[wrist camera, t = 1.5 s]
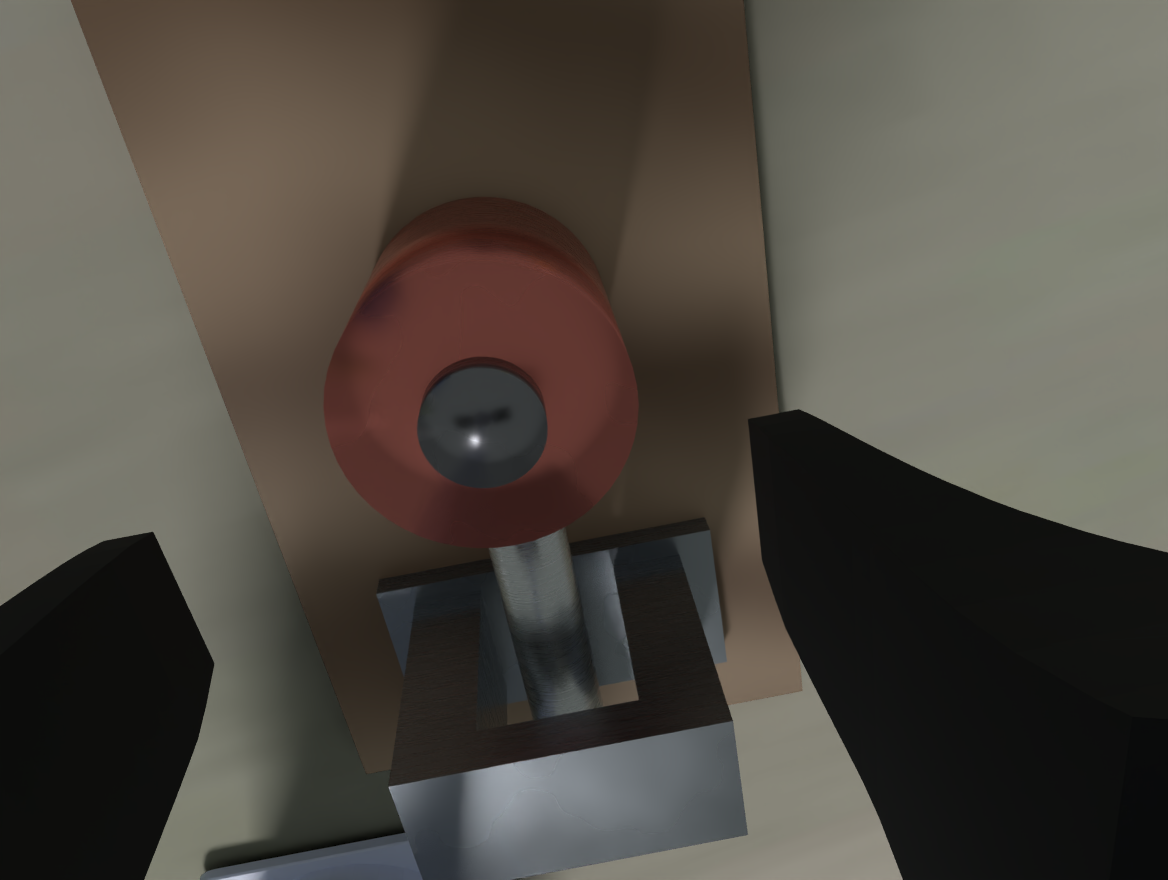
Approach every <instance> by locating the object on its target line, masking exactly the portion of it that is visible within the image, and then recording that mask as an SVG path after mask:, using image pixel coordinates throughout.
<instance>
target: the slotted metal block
mask: <svg viewBox="0 0 1168 880" xmlns="http://www.w3.org/2000/svg"><path fill="white" fill-rule="evenodd" d="M569 546H570V551H571V556H572V560H573V565H574V570H575V575H576V579H577V584H578V589H579V593H580V598H581V603H582V607H583V612H584V617H585V621H586V626H587V631H588V636H589V640H590V645H591V650H592V654H593V659H594V664H595V668H596V673H597V678H598V682H599V686H603V685H609V684H614V683H619V682H624V681H630V680H635V684H636V689H637V694H638V699H639V700H636V701H630V702H625V703H620V704H615V705H609V706H604V707H599V708H594V709H588V710H583V711H578V712H573V713H568V714H562V715H557V716H552V717H547V718H541V719H536V720H531V721H526V722H520V723H515V724H510V725H507V704H509V703H514V702H520V701H525V700H528V699H527V695H526V691H525V687H524V684H523V680H522V676H521V672H520V668H519V664H518V661H517V657H516V653H515V649H514V645H513V641H512V637H511V634H510V630H509V626H508V622H507V618H506V614H505V611H504V607H503V603H502V599H501V595H500V591H499V588H498V584H497V580H496V576H495V572H494V568H493V565H492V561H491V558H489V559H483V560H478V561H473V562H468V563H463V564H457V565H452V566H447V567H442V568H436V569H431V570H426V571H421V572H416V573H410V574H405V575H400V576H395V577H389V578H384V579H379V583H378V588H377V592H376V595H377V598H378V601H379V604H380V607H381V610H382V613H383V616H384V619H385V622H386V625H387V628H388V631H389V634H390V637H391V640H392V643H393V646H394V649H395V652H396V655H397V658H398V661H399V664H400V667H401V670H402V673H403V676H404V683H403V690H402V696H401V703H400V710H399V717H398V724H397V731H396V738H395V745H394V751H393V758H392V765H391V772H390V779H389V786H388V787H389V790H390V793H391V795H392V798H393V801H394V803H395V806H396V809H397V812H398V814H399V817H400V820H401V822H402V825H403V828H404V830H405V833H406V836H407V839H408V841H409V844H410V847H411V849H412V852H413V855H414V858H415V860H416V863H417V866H418V868H419V871H420V874H421V876H422V879H423V880H514V879H519V878H524V877H530V876H535V875H540V874H545V873H550V872H556V871H561V870H566V869H571V868H577V867H582V866H587V865H592V864H598V863H603V862H608V861H613V860H619V859H624V858H629V857H634V856H640V855H645V854H650V853H655V852H661V851H666V850H671V849H676V848H682V847H687V846H692V845H697V844H702V843H708V842H713V841H718V840H723V839H729V838H734V837H739V836H744V835H748V832H747V825H746V817H745V810H744V802H743V794H742V787H741V779H740V772H739V764H738V756H737V749H736V741H735V734H734V726H733V720H732V717H731V714H730V711H729V708H728V704H727V701H726V698H725V695H724V692H723V689H722V686H721V683H720V680H719V676H718V673H717V670H716V667H715V664H718V663H724V662H727V657H726V649H725V642H724V634H723V626H722V619H721V611H720V603H719V596H718V588H717V580H716V573H715V565H714V557H713V550H712V542H711V534H710V529H709V526H708V524H707V521H706V519H705V517H703V518H697V519H692V520H687V521H682V522H677V523H671V524H666V525H661V526H656V527H650V528H645V529H640V530H635V531H630V532H624V533H619V534H614V535H609V536H603V537H598V538H593V539H588V540H583V541H577V542H572V543H569Z"/></svg>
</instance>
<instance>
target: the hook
mask: <svg viewBox="0 0 1168 880" xmlns="http://www.w3.org/2000/svg"><path fill="white" fill-rule="evenodd" d="M638 407H639V403H638V391H637V384H636V379H635V375H634V371H633V367H632V364H631V361H630V358H629V356H628V353H627V350H626V347H625V344H624V342H623V339H622V336H621V333H620V330H619V328H618V325H617V322H616V319H615V317H614V314H613V311H612V308H611V305H610V303H609V300H608V297H607V294H606V291H605V289H604V286H603V283H602V280H601V278H600V275H599V273H598V270H597V267H596V265H595V264H594V262H593V260H592V258H591V256H590V254H589V253H588V251H587V250H586V249H585V247H584V246H583V245H582V243H581V242H580V241H579V239H578V238H577V237H576V236H575V235H574V234H573V233H572V232H571V231H570V230H569V229H568V228H567V227H565V226H564V225H563V224H561V223H560V222H559V221H558V220H556V219H555V218H553V217H552V216H550V215H548V214H547V213H545V212H543V211H542V210H539V209H537V208H535V207H532V206H530V205H528V204H525V203H521V202H518V201H514V200H511V199H504V198H497V197H472V198H464V199H458V200H454V201H451V202H447V203H444V204H441V205H439V206H436V207H434V208H431V209H429V210H427V211H426V212H424V213H422V214H421V215H419V216H417V217H415V218H414V219H413V220H412V221H410V222H409V223H408V224H407V225H405V226H404V227H403V228H402V229H401V230H400V231H399V232H398V233H397V234H396V235H395V236H394V237H393V238H392V239H391V241H390V242H389V244H388V245H387V246H386V248H385V249H384V251H383V252H382V254H381V256H380V258H379V260H378V261H377V263H376V265H375V267H374V269H373V271H372V274H371V276H370V278H369V280H368V282H367V284H366V286H365V288H364V290H363V292H362V294H361V296H360V298H359V300H358V302H357V305H356V307H355V309H354V311H353V313H352V315H351V317H350V319H349V321H348V323H347V325H346V327H345V329H344V331H343V333H342V336H341V338H340V340H339V342H338V344H337V346H336V348H335V350H334V353H333V356H332V358H331V361H330V364H329V367H328V371H327V376H326V381H325V386H324V405H323V408H324V417H325V427H326V430H327V434H328V438H329V442H330V446H331V448H332V450H333V453H334V455H335V458H336V460H337V462H338V464H339V466H340V468H341V469H342V471H343V473H344V475H345V476H346V478H347V479H348V481H349V482H350V483H351V485H352V486H353V487H354V489H355V490H356V491H357V492H358V494H359V495H360V496H361V497H362V498H363V499H364V500H365V501H366V502H367V503H368V504H369V505H370V506H371V507H372V508H374V509H375V510H376V511H378V512H379V513H380V514H381V515H383V516H384V517H385V518H386V519H388V520H390V521H391V522H393V523H395V524H396V525H398V526H400V527H401V528H403V529H405V530H407V531H409V532H412V533H414V534H416V535H418V536H420V537H423V538H426V539H429V540H432V541H436V542H439V543H443V544H448V545H453V546H458V547H469V548H488V549H489V553H490V557H491V561H492V565H493V568H494V572H495V576H496V580H497V584H498V588H499V591H500V595H501V599H502V603H503V607H504V611H505V614H506V618H507V622H508V626H509V630H510V634H511V637H512V641H513V645H514V649H515V653H516V657H517V661H518V664H519V668H520V672H521V676H522V680H523V684H524V687H525V691H526V695H527V699H528V703H529V707H530V710H531V714H532V718H533V720H536V719H541V718H547V717H552V716H557V715H562V714H568V713H573V712H578V711H583V710H588V709H594V708H599V707H604V706H603V701H602V697H601V692H600V687H599V682H598V678H597V673H596V668H595V664H594V659H593V654H592V650H591V645H590V640H589V636H588V631H587V626H586V621H585V617H584V612H583V607H582V603H581V598H580V593H579V589H578V584H577V579H576V575H575V570H574V565H573V560H572V556H571V551H570V546H569V542H568V537H567V532H566V528H565V527H566V526H568V525H569V524H571V523H572V522H574V521H575V520H577V519H578V518H580V517H581V516H583V515H584V514H585V513H586V512H588V511H589V510H590V509H591V508H592V507H593V506H594V505H596V504H597V503H598V502H599V501H600V499H601V498H602V497H603V496H604V495H605V494H606V493H607V492H608V491H609V489H610V488H611V486H612V485H613V484H614V482H615V481H616V479H617V478H618V476H619V475H620V473H621V471H622V469H623V467H624V465H625V463H626V461H627V459H628V457H629V454H630V451H631V448H632V445H633V443H634V439H635V434H636V429H637V424H638Z"/></svg>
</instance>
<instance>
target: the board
mask: <svg viewBox="0 0 1168 880" xmlns="http://www.w3.org/2000/svg"><path fill="white" fill-rule="evenodd" d="M71 2H72V4H73V7H74V10H75V12H76V15H77V18H78V20H79V23H80V25H81V28H82V31H83V33H84V36H85V39H86V41H87V44H88V46H89V49H90V52H91V54H92V57H93V59H94V62H95V65H96V67H97V70H98V73H99V75H100V78H101V80H102V83H103V86H104V88H105V91H106V94H107V96H108V99H109V101H110V104H111V107H112V109H113V112H114V115H115V117H116V120H117V122H118V125H119V128H120V130H121V133H122V135H123V138H124V141H125V143H126V146H127V149H128V151H129V154H130V156H131V159H132V162H133V164H134V167H135V170H136V172H137V175H138V177H139V180H140V183H141V185H142V188H143V190H144V193H145V196H146V198H147V201H148V204H149V206H150V209H151V211H152V214H153V217H154V219H155V222H156V225H157V227H158V230H159V232H160V235H161V238H162V240H163V243H164V246H165V248H166V251H167V253H168V256H169V259H170V261H171V264H172V266H173V269H174V272H175V274H176V277H177V280H178V282H179V285H180V287H181V290H182V293H183V295H184V298H185V301H186V303H187V306H188V308H189V311H190V314H191V316H192V319H193V321H194V324H195V327H196V329H197V332H198V335H199V337H200V340H201V342H202V345H203V348H204V350H205V353H206V356H207V358H208V361H209V363H210V366H211V369H212V371H213V374H214V377H215V379H216V382H217V384H218V387H219V390H220V392H221V395H222V397H223V400H224V403H225V405H226V408H227V411H228V413H229V416H230V418H231V421H232V424H233V426H234V429H235V432H236V434H237V437H238V439H239V442H240V445H241V447H242V450H243V452H244V455H245V458H246V460H247V463H248V466H249V468H250V471H251V473H252V476H253V479H254V481H255V484H256V487H257V489H258V492H259V494H260V497H261V500H262V502H263V505H264V507H265V510H266V513H267V515H268V518H269V521H270V523H271V526H272V528H273V531H274V534H275V536H276V539H277V542H278V544H279V547H280V549H281V552H282V555H283V557H284V560H285V563H286V565H287V568H288V570H289V573H290V576H291V578H292V581H293V583H294V586H295V589H296V591H297V594H298V597H299V599H300V602H301V604H302V607H303V610H304V612H305V615H306V618H307V620H308V623H309V625H310V628H311V631H312V633H313V636H314V638H315V641H316V644H317V646H318V649H319V652H320V654H321V657H322V659H323V662H324V665H325V667H326V670H327V673H328V675H329V678H330V680H331V683H332V686H333V688H334V691H335V694H336V696H337V699H338V701H339V704H340V707H341V709H342V712H343V714H344V717H345V720H346V722H347V725H348V728H349V730H350V733H351V735H352V738H353V741H354V743H355V746H356V749H357V751H358V754H359V756H360V759H361V762H362V764H363V767H364V769H365V772H366V774H370V773H375V772H381V771H386V770H391V765H392V758H393V751H394V745H395V738H396V731H397V724H398V717H399V710H400V703H401V696H402V690H403V683H404V676H403V673H402V670H401V667H400V664H399V661H398V658H397V655H396V652H395V649H394V646H393V643H392V640H391V637H390V634H389V631H388V628H387V625H386V622H385V619H384V616H383V613H382V610H381V607H380V604H379V601H378V598H377V595H376V592H377V588H378V583H379V579H384V578H389V577H395V576H400V575H405V574H410V573H416V572H421V571H426V570H431V569H436V568H442V567H447V566H452V565H457V564H463V563H468V562H473V561H478V560H483V559H489V558H491V557H490V553H489V549H488V548H469V547H458V546H453V545H448V544H443V543H439V542H436V541H432V540H429V539H426V538H423V537H420V536H418V535H416V534H414V533H412V532H409V531H407V530H405V529H403V528H401V527H400V526H398V525H396V524H395V523H393V522H391V521H390V520H388V519H386V518H385V517H384V516H383V515H381V514H380V513H379V512H378V511H376V510H375V509H374V508H372V507H371V506H370V505H369V504H368V503H367V502H366V501H365V500H364V499H363V498H362V497H361V496H360V495H359V494H358V492H357V491H356V490H355V489H354V487H353V486H352V485H351V483H350V482H349V481H348V479H347V478H346V476H345V475H344V473H343V471H342V469H341V468H340V466H339V464H338V462H337V460H336V458H335V455H334V453H333V450H332V448H331V446H330V442H329V438H328V434H327V430H326V427H325V417H324V408H323V405H324V386H325V381H326V376H327V371H328V367H329V364H330V361H331V358H332V356H333V353H334V350H335V348H336V346H337V344H338V342H339V340H340V338H341V336H342V333H343V331H344V329H345V327H346V325H347V323H348V321H349V319H350V317H351V315H352V313H353V311H354V309H355V307H356V305H357V302H358V300H359V298H360V296H361V294H362V292H363V290H364V288H365V286H366V284H367V282H368V280H369V278H370V276H371V274H372V271H373V269H374V267H375V265H376V263H377V261H378V260H379V258H380V256H381V254H382V252H383V251H384V249H385V248H386V246H387V245H388V244H389V242H390V241H391V239H392V238H393V237H394V236H395V235H396V234H397V233H398V232H399V231H400V230H401V229H402V228H403V227H404V226H405V225H407V224H408V223H409V222H410V221H412V220H413V219H414V218H415V217H417V216H419V215H421V214H422V213H424V212H426V211H427V210H429V209H431V208H434V207H436V206H439V205H441V204H444V203H447V202H451V201H454V200H458V199H464V198H472V197H497V198H504V199H511V200H514V201H518V202H521V203H525V204H528V205H530V206H532V207H535V208H537V209H539V210H542V211H543V212H545V213H547V214H548V215H550V216H552V217H553V218H555V219H556V220H558V221H559V222H560V223H561V224H563V225H564V226H565V227H567V228H568V229H569V230H570V231H571V232H572V233H573V234H574V235H575V236H576V237H577V238H578V239H579V241H580V242H581V243H582V245H583V246H584V247H585V249H586V250H587V251H588V253H589V254H590V256H591V258H592V260H593V262H594V264H595V265H596V267H597V270H598V273H599V275H600V278H601V280H602V283H603V286H604V289H605V291H606V294H607V297H608V300H609V303H610V305H611V308H612V311H613V314H614V317H615V319H616V322H617V325H618V328H619V330H620V333H621V336H622V339H623V342H624V344H625V347H626V350H627V353H628V356H629V358H630V361H631V364H632V367H633V371H634V375H635V379H636V384H637V391H638V403H639V407H638V424H637V429H636V434H635V439H634V443H633V445H632V448H631V451H630V454H629V457H628V459H627V461H626V463H625V465H624V467H623V469H622V471H621V473H620V475H619V476H618V478H617V479H616V481H615V482H614V484H613V485H612V486H611V488H610V489H609V491H608V492H607V493H606V494H605V495H604V496H603V497H602V498H601V499H600V501H599V502H598V503H597V504H596V505H594V506H593V507H592V508H591V509H590V510H589V511H588V512H586V513H585V514H584V515H583V516H581V517H580V518H578V519H577V520H575V521H574V522H572V523H571V524H569V525H568V526H566V527H565V528H566V532H567V537H568V542H569V543H572V542H577V541H583V540H588V539H593V538H598V537H603V536H609V535H614V534H619V533H624V532H630V531H635V530H640V529H645V528H650V527H656V526H661V525H666V524H671V523H677V522H682V521H687V520H692V519H697V518H703V517H705V519H706V521H707V524H708V526H709V529H710V534H711V542H712V550H713V557H714V565H715V573H716V580H717V588H718V596H719V603H720V611H721V619H722V626H723V634H724V642H725V649H726V657H727V662H724V663H718V664H715V667H716V670H717V673H718V676H719V680H720V683H721V686H722V689H723V692H724V695H725V698H726V701H727V704H728V705H731V704H736V703H742V702H747V701H752V700H757V699H763V698H768V697H773V696H778V695H784V694H789V693H794V692H799V691H802V680H801V668H800V657H799V655H798V653H797V651H796V649H795V647H794V645H793V643H792V641H791V639H790V637H789V635H788V633H787V630H786V628H785V626H784V623H783V620H782V617H781V615H780V612H779V609H778V606H777V603H776V601H775V598H774V595H773V592H772V589H771V586H770V583H769V580H768V577H767V574H766V571H765V568H764V565H763V562H762V557H761V547H760V537H759V527H758V517H757V507H756V497H755V487H754V477H753V467H752V457H751V446H750V436H749V426H748V419H751V418H756V417H761V416H766V415H772V414H777V413H779V410H778V398H777V386H776V375H775V363H774V351H773V339H772V328H771V316H770V304H769V292H768V281H767V269H766V257H765V245H764V234H763V222H762V210H761V198H760V187H759V175H758V163H757V151H756V140H755V128H754V116H753V104H752V93H751V81H750V69H749V57H748V46H747V34H746V22H745V10H744V0H71ZM599 687H600V692H601V697H602V701H603V706H609V705H615V704H620V703H625V702H630V701H636V700H639V699H638V694H637V689H636V684H635V680H630V681H624V682H619V683H614V684H609V685H603V686H599ZM531 720H533V718H532V714H531V710H530V707H529V703H528V700H525V701H520V702H514V703H509V704H507V725H510V724H515V723H520V722H526V721H531Z"/></svg>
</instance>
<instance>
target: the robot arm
mask: <svg viewBox="0 0 1168 880" xmlns="http://www.w3.org/2000/svg"><path fill="white" fill-rule="evenodd" d="M748 426H749V436H750V446H751V457H752V467H753V477H754V487H755V497H756V507H757V517H758V527H759V537H760V547H761V557H762V562H763V565H764V568H765V571H766V574H767V577H768V580H769V583H770V586H771V589H772V592H773V595H774V598H775V601H776V603H777V606H778V609H779V612H780V615H781V617H782V620H783V623H784V626H785V628H786V630H787V633H788V635H789V637H790V639H791V641H792V643H793V645H794V647H795V649H796V651H797V653H798V655H799V657H800V659H801V661H802V663H803V665H804V667H805V669H806V671H807V673H808V675H809V677H810V679H811V681H812V683H813V685H814V687H815V688H816V690H817V692H818V694H819V696H820V698H821V700H822V702H823V704H824V706H825V708H826V710H827V712H828V714H829V716H830V718H831V720H832V722H833V724H834V726H835V728H836V730H837V732H838V734H839V736H840V738H841V740H842V741H843V743H844V745H845V747H846V749H847V751H848V753H849V755H850V757H851V759H852V761H853V763H854V765H855V767H856V769H857V771H858V773H859V775H860V777H861V779H862V781H863V783H864V785H865V787H866V790H867V792H868V794H869V796H870V798H871V801H872V803H873V805H874V807H875V809H876V812H877V814H878V816H879V819H880V821H881V824H882V826H883V829H884V831H885V834H886V837H887V839H888V842H889V844H890V847H891V850H892V852H893V855H894V857H895V860H896V863H897V865H898V868H899V870H900V873H901V876H902V878H903V880H1168V553H1167V552H1163V551H1159V550H1155V549H1151V548H1146V547H1142V546H1138V545H1134V544H1130V543H1125V542H1121V541H1117V540H1114V539H1110V538H1106V537H1103V536H1099V535H1096V534H1092V533H1088V532H1085V531H1081V530H1078V529H1075V528H1072V527H1069V526H1066V525H1063V524H1059V523H1056V522H1053V521H1050V520H1047V519H1044V518H1041V517H1038V516H1035V515H1032V514H1028V513H1025V512H1022V511H1019V510H1017V509H1014V508H1011V507H1008V506H1006V505H1003V504H1000V503H997V502H995V501H992V500H990V499H987V498H985V497H982V496H980V495H978V494H975V493H973V492H970V491H968V490H966V489H963V488H961V487H958V486H956V485H953V484H951V483H949V482H946V481H944V480H942V479H939V478H937V477H935V476H933V475H931V474H928V473H926V472H924V471H922V470H920V469H917V468H915V467H913V466H911V465H909V464H907V463H905V462H903V461H901V460H899V459H897V458H895V457H893V456H891V455H889V454H887V453H885V452H883V451H881V450H879V449H877V448H875V447H873V446H871V445H869V444H867V443H865V442H863V441H861V440H859V439H857V438H855V437H853V436H852V435H850V434H848V433H846V432H844V431H842V430H840V429H838V428H836V427H834V426H832V425H830V424H829V423H827V422H825V421H823V420H821V419H819V418H817V417H815V416H813V415H811V414H808V413H806V412H804V411H801V410H799V409H798V410H793V411H787V412H782V413H777V414H772V415H766V416H761V417H756V418H751V419H748ZM213 668H214V661H213V659H212V657H211V655H210V653H209V651H208V649H207V646H206V644H205V642H204V640H203V638H202V636H201V634H200V631H199V629H198V627H197V625H196V623H195V621H194V619H193V616H192V614H191V612H190V610H189V608H188V606H187V603H186V601H185V599H184V597H183V595H182V593H181V591H180V588H179V586H178V584H177V582H176V580H175V578H174V576H173V573H172V571H171V569H170V567H169V565H168V563H167V560H166V558H165V556H164V554H163V552H162V550H161V548H160V545H159V543H158V541H157V539H156V537H155V535H154V533H153V532H149V533H144V534H139V535H133V536H128V537H123V538H117V539H112V540H107V541H103V542H101V543H99V544H97V545H95V546H93V547H91V548H89V549H87V550H85V551H83V552H82V553H80V554H78V555H77V556H75V557H73V558H72V559H70V560H68V561H67V562H65V563H64V564H62V565H60V566H59V567H57V568H56V569H54V570H53V571H51V572H50V573H48V574H47V575H45V576H44V577H42V578H41V579H39V580H38V581H36V582H35V583H33V584H32V585H30V586H29V587H27V588H26V589H24V590H23V591H22V592H20V593H19V594H17V595H16V596H14V597H13V598H11V599H10V600H8V601H7V602H6V603H4V604H3V605H1V606H0V880H144V879H145V876H146V874H147V871H148V869H149V866H150V863H151V861H152V858H153V856H154V853H155V851H156V848H157V845H158V843H159V840H160V838H161V835H162V833H163V830H164V827H165V825H166V822H167V820H168V817H169V815H170V812H171V810H172V807H173V804H174V802H175V799H176V797H177V794H178V791H179V789H180V786H181V783H182V781H183V778H184V775H185V773H186V770H187V767H188V765H189V762H190V760H191V757H192V754H193V751H194V748H195V746H196V743H197V740H198V737H199V733H200V729H201V724H202V720H203V716H204V712H205V708H206V704H207V699H208V693H209V688H210V683H211V678H212V673H213ZM200 880H423V879H422V876H421V874H420V871H419V868H418V866H417V863H416V860H415V858H414V855H413V852H412V849H411V847H410V844H409V841H408V839H407V836H406V833H401V834H396V835H391V836H385V837H380V838H375V839H370V840H364V841H359V842H354V843H349V844H343V845H338V846H333V847H328V848H323V849H317V850H312V851H307V852H302V853H296V854H291V855H286V856H281V857H275V858H270V859H265V860H260V861H254V862H249V863H244V864H239V865H234V866H228V867H223V868H218V869H213V870H209V871H207V872H205V873H204V874H202V875H201V877H200Z"/></svg>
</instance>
